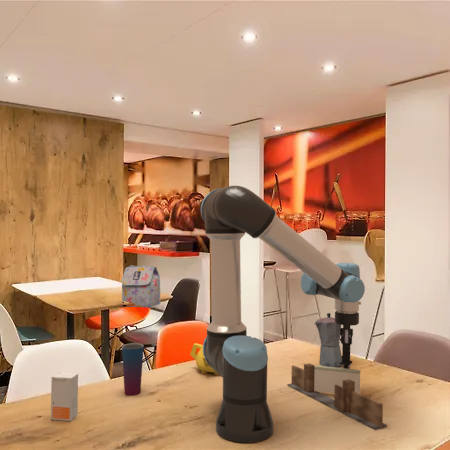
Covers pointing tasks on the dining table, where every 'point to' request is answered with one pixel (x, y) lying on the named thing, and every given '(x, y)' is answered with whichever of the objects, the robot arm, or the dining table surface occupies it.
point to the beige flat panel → (334, 378)
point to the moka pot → (329, 341)
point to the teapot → (201, 359)
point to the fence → (340, 398)
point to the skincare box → (64, 396)
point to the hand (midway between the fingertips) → (345, 384)
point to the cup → (132, 368)
